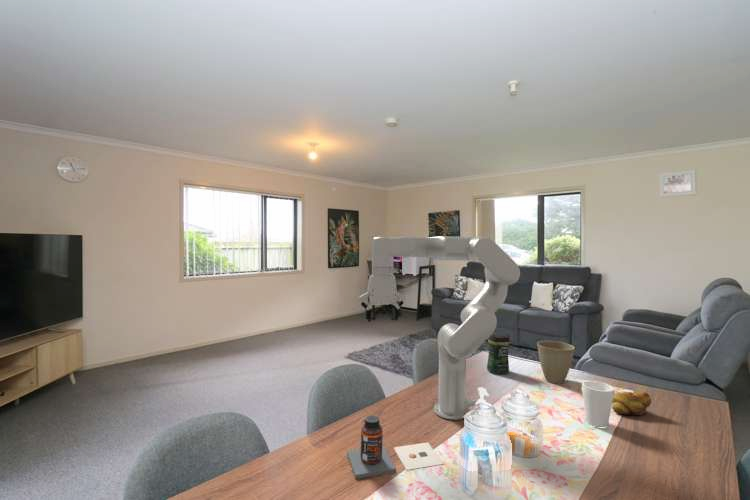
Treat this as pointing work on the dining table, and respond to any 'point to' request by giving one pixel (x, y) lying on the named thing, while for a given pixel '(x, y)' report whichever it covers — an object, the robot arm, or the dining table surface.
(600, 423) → the foam cup
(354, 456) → the place mat
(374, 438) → the supplement bottle
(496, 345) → the coffee jar
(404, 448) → the tile
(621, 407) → the bread roll
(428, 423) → the dining table surface
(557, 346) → the plant pot
